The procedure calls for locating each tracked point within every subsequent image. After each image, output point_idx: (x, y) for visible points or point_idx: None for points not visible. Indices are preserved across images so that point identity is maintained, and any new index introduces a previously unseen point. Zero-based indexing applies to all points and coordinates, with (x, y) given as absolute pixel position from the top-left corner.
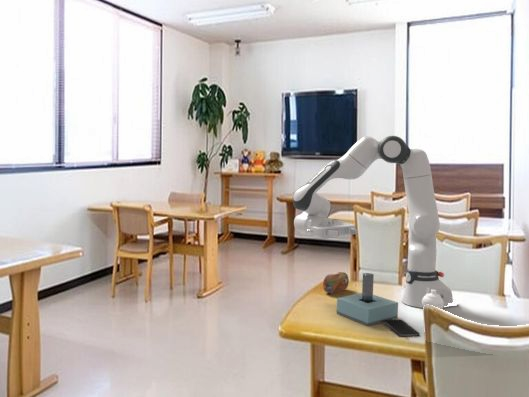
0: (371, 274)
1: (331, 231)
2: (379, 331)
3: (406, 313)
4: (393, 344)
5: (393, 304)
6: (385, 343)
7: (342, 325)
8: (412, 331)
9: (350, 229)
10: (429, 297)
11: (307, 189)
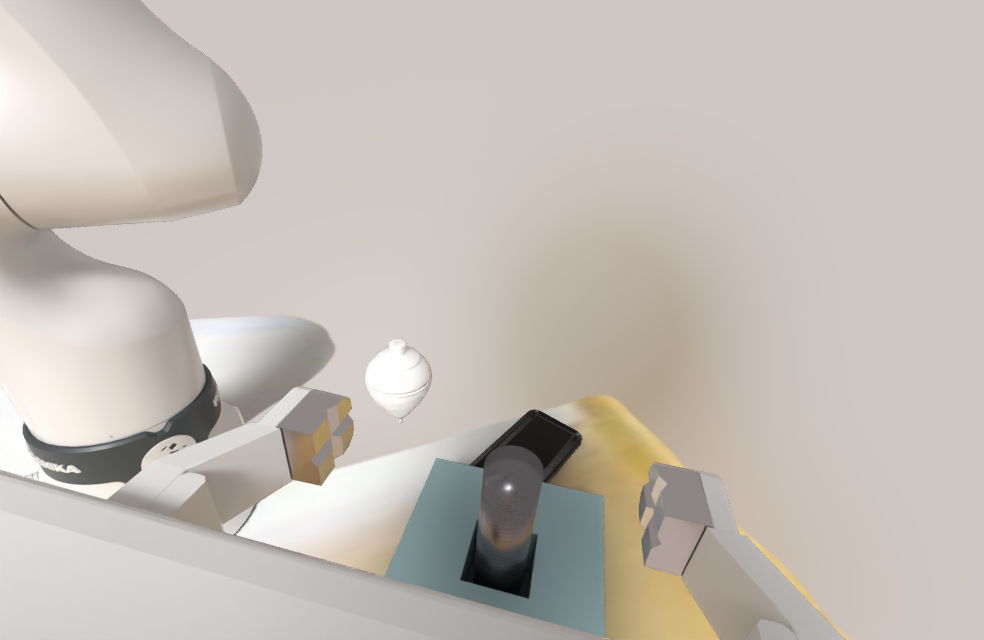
0: (504, 455)
1: (775, 584)
2: (597, 489)
3: (358, 497)
4: (638, 433)
5: (462, 466)
6: (652, 446)
7: (677, 612)
8: (530, 425)
9: (203, 492)
10: (420, 362)
11: None
